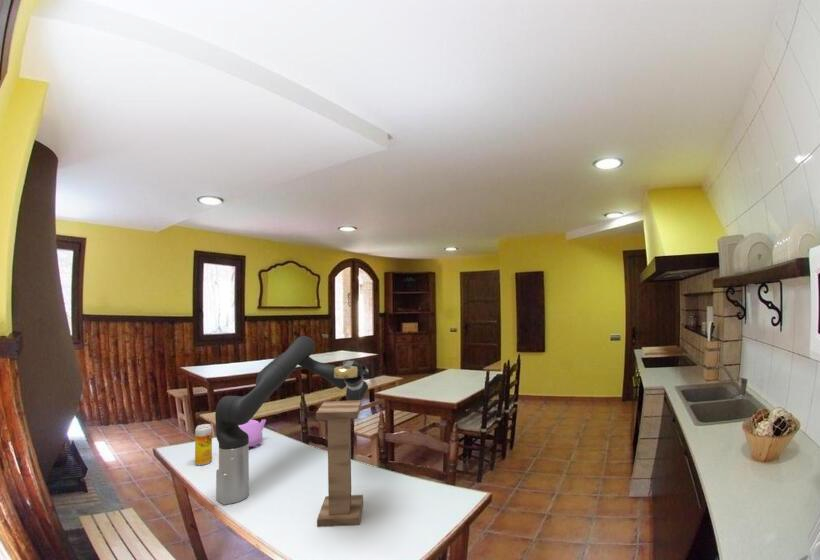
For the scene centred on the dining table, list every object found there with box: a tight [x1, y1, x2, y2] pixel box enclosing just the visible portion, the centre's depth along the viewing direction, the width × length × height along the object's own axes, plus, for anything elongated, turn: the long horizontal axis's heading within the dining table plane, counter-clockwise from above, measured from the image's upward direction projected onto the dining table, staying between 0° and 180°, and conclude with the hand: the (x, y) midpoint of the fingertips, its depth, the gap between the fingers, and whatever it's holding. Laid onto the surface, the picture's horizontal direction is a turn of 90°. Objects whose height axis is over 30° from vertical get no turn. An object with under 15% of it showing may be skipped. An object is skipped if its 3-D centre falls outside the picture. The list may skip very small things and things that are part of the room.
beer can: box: [194, 423, 213, 466], centre depth 166 cm, size 6×6×15 cm
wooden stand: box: [315, 400, 364, 528], centre depth 124 cm, size 14×12×32 cm
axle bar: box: [334, 360, 357, 379], centre depth 148 cm, size 21×8×3 cm, turn 2°
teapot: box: [238, 418, 267, 448], centre depth 184 cm, size 20×12×13 cm, turn 141°
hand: (349, 362), depth 153 cm, fingers closed on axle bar, 3 cm apart
